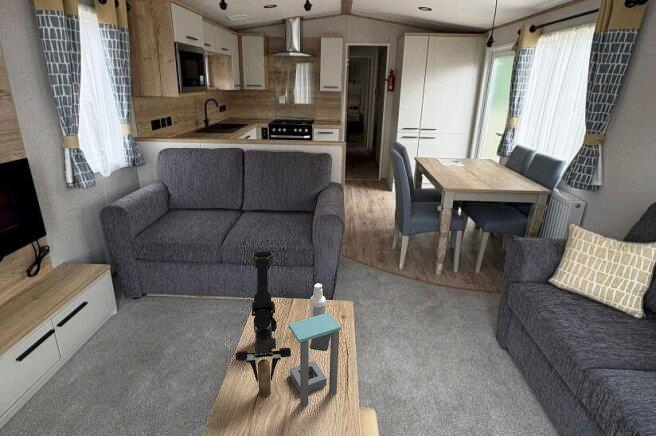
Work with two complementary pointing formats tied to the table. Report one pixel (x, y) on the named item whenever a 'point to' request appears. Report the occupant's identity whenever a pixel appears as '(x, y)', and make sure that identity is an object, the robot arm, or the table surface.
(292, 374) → the socket
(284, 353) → the robot arm
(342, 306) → the table surface
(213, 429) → the table surface
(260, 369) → the peg
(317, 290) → the spray bottle
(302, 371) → the teal topped stool
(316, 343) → the phone
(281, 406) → the table surface
